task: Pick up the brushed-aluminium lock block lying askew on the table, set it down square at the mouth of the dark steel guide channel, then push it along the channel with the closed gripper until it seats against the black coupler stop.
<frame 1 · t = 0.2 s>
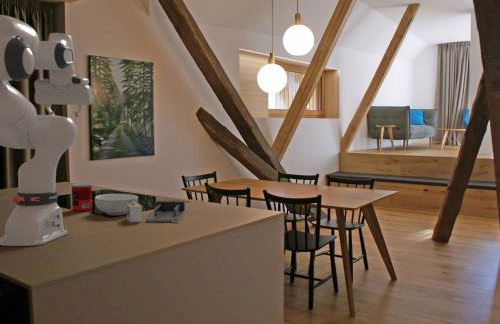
hand: (64, 116, 173), 39 cm above the counter, tool pointing down, fingers open, 8 cm apart
lock block: (134, 220, 177), on the counter
cereal bowl: (116, 214, 189), on the counter
canned food: (82, 210, 195), on the counter
coupler rail: (166, 216, 185), on the counter
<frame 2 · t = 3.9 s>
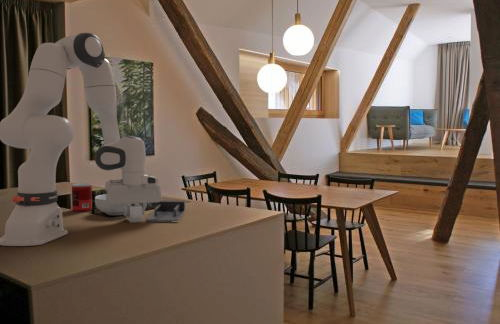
hand: (134, 215, 176), 2 cm above the counter, tool pointing down, fingers closed on lock block, 4 cm apart
lock block: (134, 220, 177), on the counter, touching gripper
everything else where it was.
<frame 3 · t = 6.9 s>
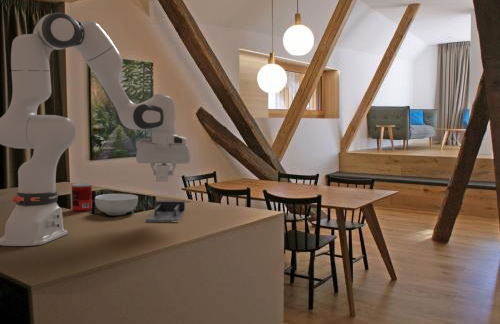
hand: (163, 175, 176), 17 cm above the counter, tool pointing down, fingers closed on lock block, 4 cm apart
lock block: (163, 180, 177), point 15 cm above the counter, touching gripper
everything else where it was.
when the fingers open (5 cm above the counter, at t = 9.6 s): lock block drops 2 cm, resting on coupler rail.
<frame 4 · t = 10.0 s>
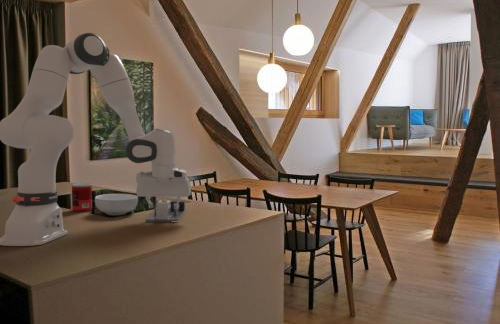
hand: (163, 208, 177), 5 cm above the counter, tool pointing down, fingers open, 8 cm apart
lock block: (163, 217, 178), point 1 cm above the counter, touching coupler rail
everything else where it was.
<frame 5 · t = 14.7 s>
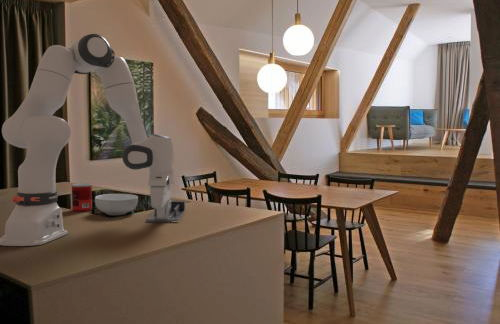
hand: (161, 215, 172), 3 cm above the counter, tool pointing down, fingers closed
lock block: (164, 217, 179), point 1 cm above the counter, touching gripper
everything else where it was.
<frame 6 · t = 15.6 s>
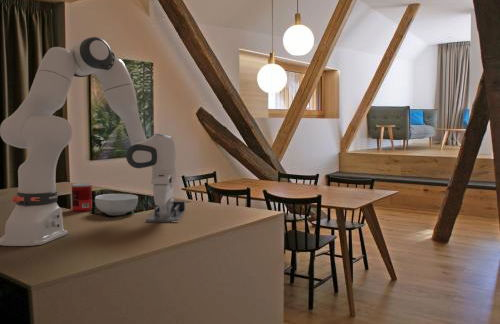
hand: (164, 213, 178), 3 cm above the counter, tool pointing down, fingers closed
lock block: (166, 214, 184), point 1 cm above the counter, touching gripper
everything else where it was.
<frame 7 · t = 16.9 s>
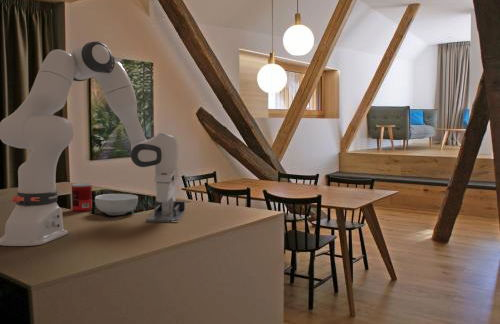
hand: (166, 210, 183), 3 cm above the counter, tool pointing down, fingers closed
lock block: (168, 211, 189), point 1 cm above the counter, touching coupler rail, gripper
everything else where it was.
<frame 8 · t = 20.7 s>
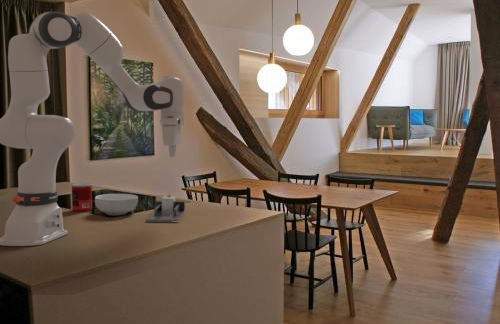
hand: (172, 156, 178), 24 cm above the counter, tool pointing down, fingers closed
lock block: (168, 211, 189), point 1 cm above the counter, touching coupler rail
everything else where it was.
at the end: lock block 0.1 cm from the target spot on the coupler rail, point 1.0 cm above the coupler rail's base; lock block tilted 0°; the gripper is holding nothing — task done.
